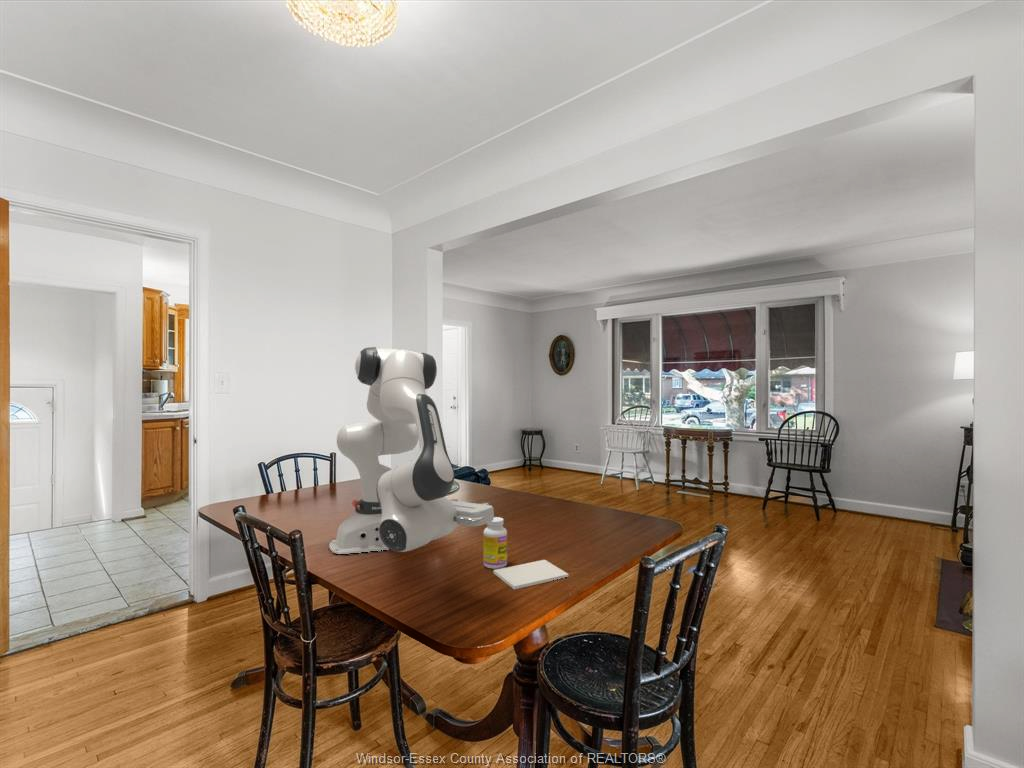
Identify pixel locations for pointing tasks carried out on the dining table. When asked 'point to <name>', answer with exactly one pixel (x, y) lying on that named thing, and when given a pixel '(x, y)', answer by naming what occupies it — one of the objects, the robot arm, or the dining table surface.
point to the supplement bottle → (495, 544)
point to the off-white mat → (530, 574)
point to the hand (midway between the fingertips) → (470, 504)
